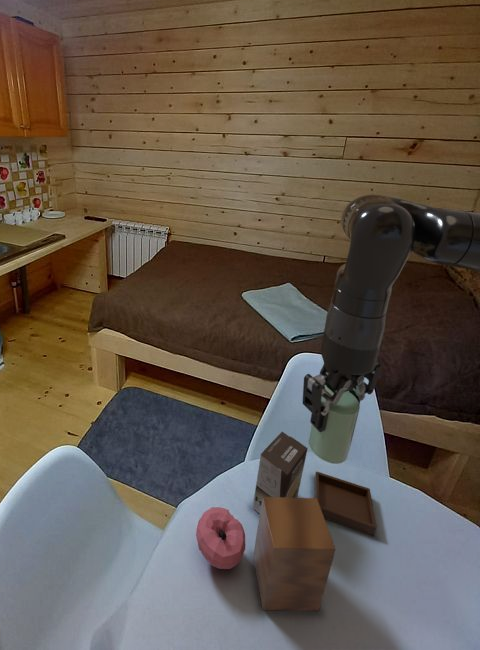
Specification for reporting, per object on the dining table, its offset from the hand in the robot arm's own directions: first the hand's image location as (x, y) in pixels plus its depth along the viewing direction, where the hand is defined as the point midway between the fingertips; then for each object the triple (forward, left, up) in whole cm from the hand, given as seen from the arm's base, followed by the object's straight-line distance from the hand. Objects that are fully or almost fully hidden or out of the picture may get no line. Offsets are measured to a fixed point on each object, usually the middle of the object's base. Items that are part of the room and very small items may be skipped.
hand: (333, 420), depth 56 cm
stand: (+5, +1, -36) cm, 36 cm away
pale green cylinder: (0, 0, -6) cm, 6 cm away
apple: (+15, -7, -36) cm, 40 cm away
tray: (-16, -5, -36) cm, 40 cm away
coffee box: (-2, -11, -36) cm, 38 cm away
